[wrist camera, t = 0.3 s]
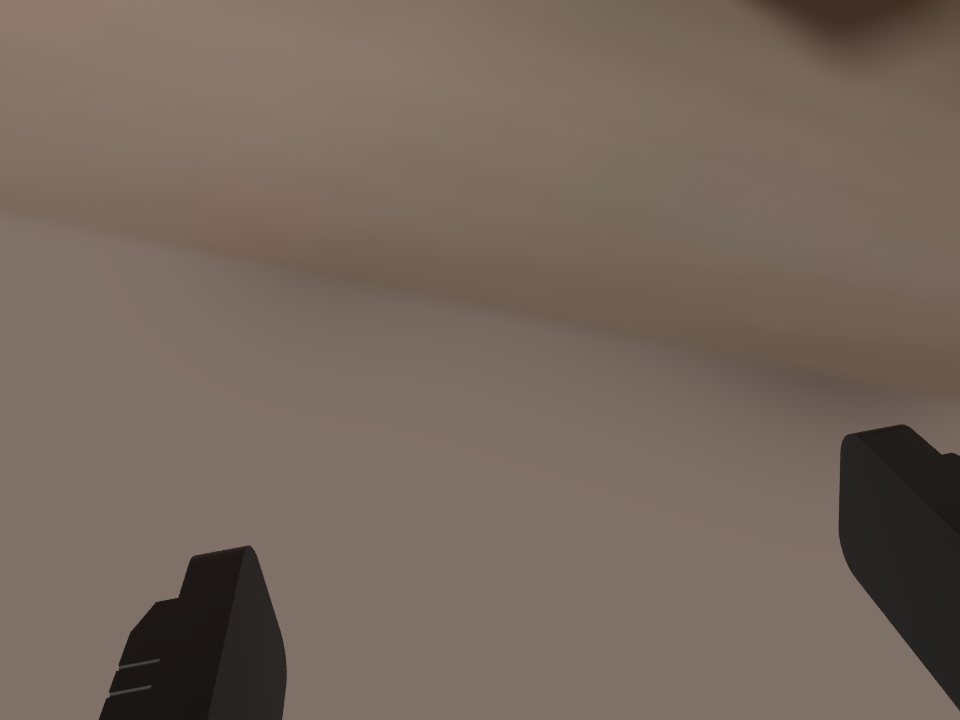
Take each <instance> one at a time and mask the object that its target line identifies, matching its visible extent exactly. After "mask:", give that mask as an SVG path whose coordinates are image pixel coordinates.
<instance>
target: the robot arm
mask: <svg viewBox="0 0 960 720" xmlns="http://www.w3.org/2000/svg"><path fill="white" fill-rule="evenodd" d="M840 457H841V458H840V494H839V538H840V543H841V547H842V551H843V554H844V557H845V560H846V562H847V564H848V566H849V568H850V570H851V572H852V573H853V575H854V576H855V577H856V579H857V580H858V581H859V583H860V584H861V585H862V586H863V588H864V589H865V590H866V592H867V593H868V594H869V595H870V597H871V598H872V599H873V601H874V602H875V603H876V604H877V606H878V607H879V608H880V610H881V611H882V612H883V613H884V615H885V616H886V617H887V618H888V620H889V621H890V622H891V624H892V625H893V626H894V627H895V629H896V630H897V631H898V632H899V634H900V635H901V636H902V638H903V639H904V640H905V641H906V643H907V644H908V645H909V646H910V648H911V649H912V650H913V652H914V653H915V654H916V655H917V657H918V658H919V659H920V661H922V663H923V664H924V666H925V667H926V668H927V669H928V671H929V672H930V673H931V675H932V676H933V677H934V678H935V680H936V681H937V682H938V683H939V685H940V686H941V687H942V688H943V690H944V691H945V692H946V694H947V695H948V696H949V697H950V699H951V700H952V701H953V703H954V704H955V705H956V706H957V708H958V709H959V710H960V456H958V455H956V454H954V453H948V454H943V455H941V454H940V453H939V452H938V451H937V450H936V449H934V448H933V447H932V446H931V445H930V444H928V442H926V441H925V440H924V439H923V438H922V437H921V436H919V435H918V434H917V433H916V432H915V431H914V430H913V429H911V428H910V427H908V426H906V425H902V424H901V425H895V426H890V427H885V428H879V429H874V430H869V431H863V432H858V433H853V434H848V435H846V436H845V438H844V439H843V441H842V445H841V453H840ZM286 670H287V668H286V656H285V649H284V644H283V639H282V635H281V631H280V628H279V625H278V622H277V619H276V615H275V612H274V609H273V606H272V602H271V599H270V596H269V593H268V590H267V586H266V583H265V580H264V577H263V574H262V570H261V567H260V564H259V561H258V558H257V555H256V553H255V551H254V549H253V548H252V547H251V546H244V547H238V548H233V549H228V550H222V551H217V552H212V553H206V554H201V555H196V556H193V557H192V558H191V560H190V562H189V565H188V568H187V572H186V575H185V578H184V581H183V585H182V588H181V591H180V594H179V598H175V599H170V600H165V601H160V602H156V603H155V604H154V605H153V607H152V608H151V609H150V610H149V611H148V613H147V614H146V615H145V616H144V617H143V618H142V619H141V621H140V622H139V623H138V624H137V625H136V627H135V628H134V629H133V630H132V631H131V633H130V635H129V638H128V640H127V643H126V646H125V648H124V651H123V654H122V657H121V660H120V662H119V671H116V674H115V676H114V679H113V682H112V685H111V687H110V690H109V693H110V697H109V698H107V699H106V701H105V704H104V707H103V709H102V712H101V715H100V718H99V720H282V716H283V707H284V699H285V690H286V679H287V671H286Z"/></svg>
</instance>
